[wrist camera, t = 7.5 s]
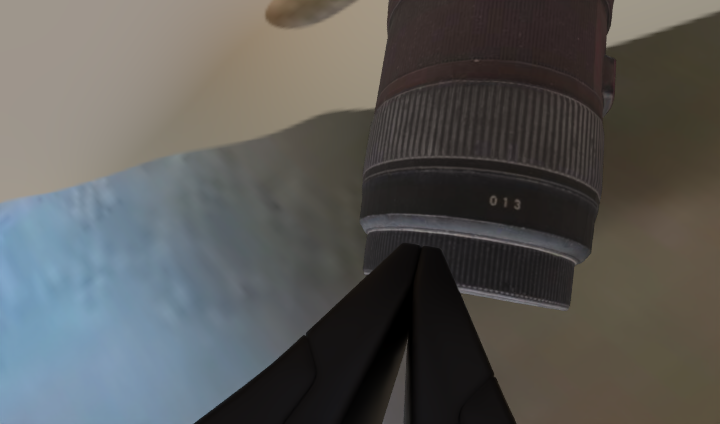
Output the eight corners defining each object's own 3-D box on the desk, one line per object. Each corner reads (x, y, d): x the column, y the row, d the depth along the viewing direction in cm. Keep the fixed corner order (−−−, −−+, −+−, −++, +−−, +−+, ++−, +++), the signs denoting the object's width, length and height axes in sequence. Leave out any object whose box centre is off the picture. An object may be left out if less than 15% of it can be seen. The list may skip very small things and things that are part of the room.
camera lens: (437, 291, 19) (473, 16, 22) (634, 322, 13) (652, -68, 15) (295, 265, 14) (364, -88, 17) (505, 297, 8) (563, -275, 10)
